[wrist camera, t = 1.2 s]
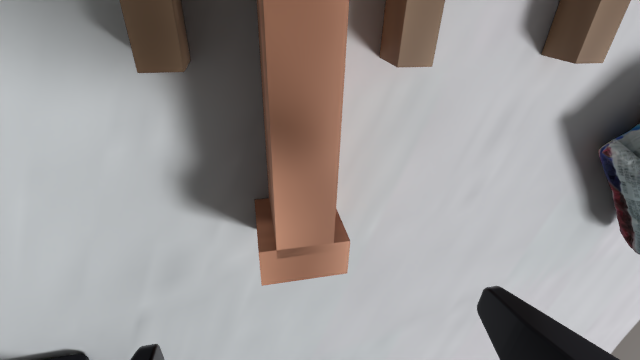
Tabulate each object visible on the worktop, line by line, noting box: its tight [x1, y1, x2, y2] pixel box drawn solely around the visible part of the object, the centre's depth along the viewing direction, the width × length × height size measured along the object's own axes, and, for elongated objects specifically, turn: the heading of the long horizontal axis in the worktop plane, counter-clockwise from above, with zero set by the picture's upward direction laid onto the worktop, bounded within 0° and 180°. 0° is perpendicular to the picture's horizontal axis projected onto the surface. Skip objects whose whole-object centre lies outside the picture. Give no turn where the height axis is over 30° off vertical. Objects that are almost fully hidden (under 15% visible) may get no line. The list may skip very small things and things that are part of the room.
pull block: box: [255, 0, 350, 286], centre depth 12 cm, size 5×20×4 cm, turn 179°
